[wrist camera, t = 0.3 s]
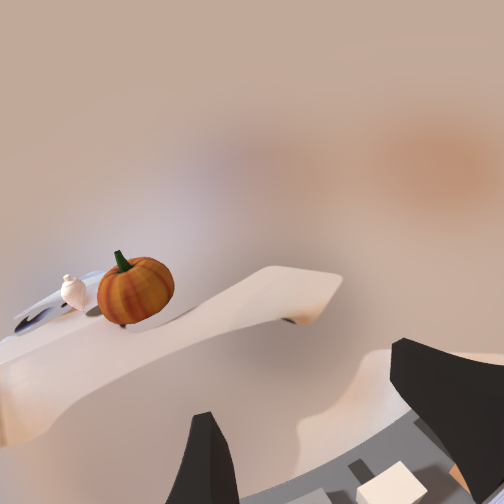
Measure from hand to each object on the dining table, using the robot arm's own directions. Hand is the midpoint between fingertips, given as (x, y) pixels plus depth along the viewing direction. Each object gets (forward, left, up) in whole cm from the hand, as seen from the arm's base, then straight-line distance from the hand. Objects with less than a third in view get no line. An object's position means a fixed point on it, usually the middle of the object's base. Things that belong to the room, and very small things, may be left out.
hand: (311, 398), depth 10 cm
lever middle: (-2, -4, -18) cm, 19 cm away
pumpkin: (+57, +17, -21) cm, 63 cm away
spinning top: (+67, +36, -21) cm, 79 cm away
